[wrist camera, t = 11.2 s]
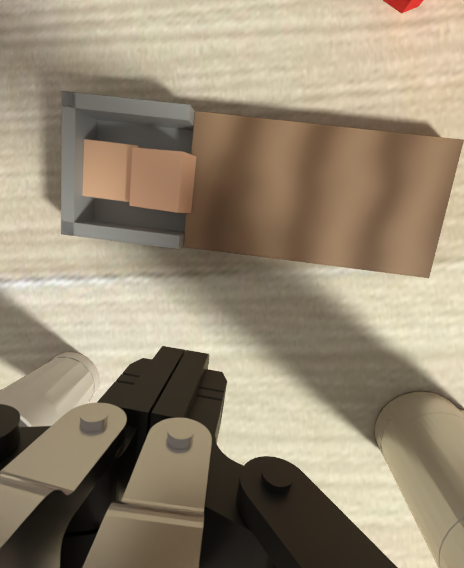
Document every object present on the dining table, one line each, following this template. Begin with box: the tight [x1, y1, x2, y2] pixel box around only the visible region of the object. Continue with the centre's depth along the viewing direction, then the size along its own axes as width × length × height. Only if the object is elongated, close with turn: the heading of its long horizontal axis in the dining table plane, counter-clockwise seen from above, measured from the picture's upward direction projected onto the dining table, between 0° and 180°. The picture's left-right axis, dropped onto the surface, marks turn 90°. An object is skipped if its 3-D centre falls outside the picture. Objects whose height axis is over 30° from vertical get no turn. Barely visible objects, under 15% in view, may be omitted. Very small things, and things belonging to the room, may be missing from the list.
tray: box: [61, 91, 195, 249], centre depth 32 cm, size 11×12×4 cm
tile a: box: [129, 147, 196, 213], centre depth 31 cm, size 5×5×2 cm
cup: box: [0, 352, 100, 427], centre depth 34 cm, size 8×8×12 cm
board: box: [183, 111, 464, 278], centre depth 32 cm, size 23×12×2 cm, turn 84°
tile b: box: [83, 139, 142, 202], centre depth 33 cm, size 5×5×2 cm
